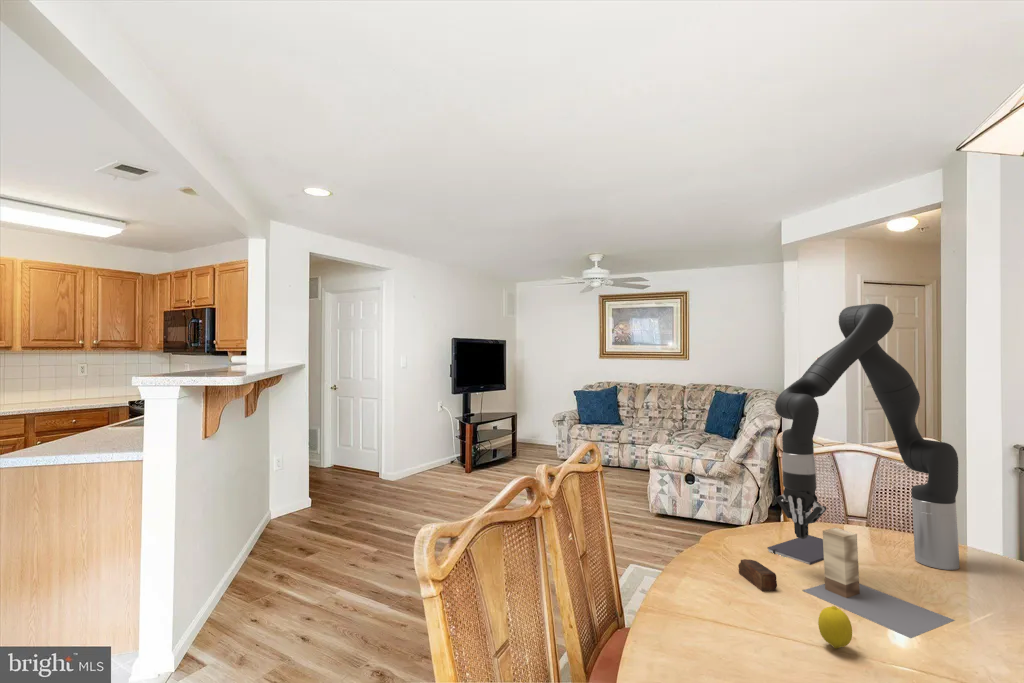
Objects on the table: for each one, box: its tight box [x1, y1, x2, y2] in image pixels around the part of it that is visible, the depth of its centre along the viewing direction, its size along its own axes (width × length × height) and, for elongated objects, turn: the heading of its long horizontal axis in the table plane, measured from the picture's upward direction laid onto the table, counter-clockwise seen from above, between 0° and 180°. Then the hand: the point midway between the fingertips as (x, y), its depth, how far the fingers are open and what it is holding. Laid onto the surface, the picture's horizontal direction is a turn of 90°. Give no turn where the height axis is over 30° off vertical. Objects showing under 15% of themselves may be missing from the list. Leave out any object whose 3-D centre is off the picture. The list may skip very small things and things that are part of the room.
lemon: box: [817, 605, 853, 650], centre depth 96 cm, size 6×6×8 cm
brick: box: [738, 559, 778, 593], centre depth 124 cm, size 11×4×5 cm, turn 5°
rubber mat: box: [802, 583, 956, 639], centre depth 112 cm, size 16×23×1 cm
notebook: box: [767, 534, 824, 565], centre depth 145 cm, size 13×2×21 cm
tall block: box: [822, 527, 860, 598], centre depth 119 cm, size 5×5×14 cm
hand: (801, 537), depth 128 cm, fingers closed
